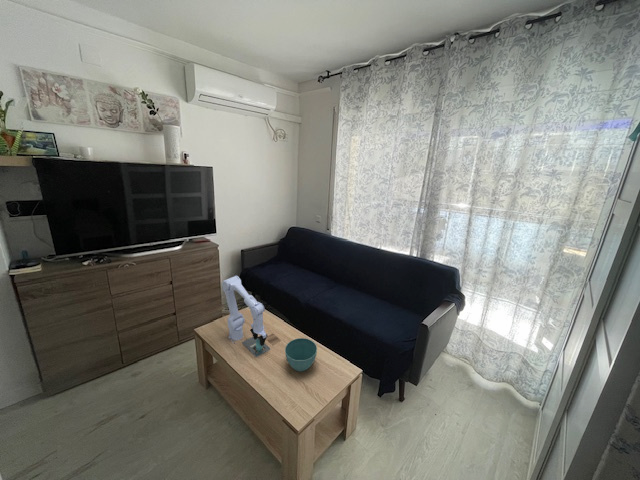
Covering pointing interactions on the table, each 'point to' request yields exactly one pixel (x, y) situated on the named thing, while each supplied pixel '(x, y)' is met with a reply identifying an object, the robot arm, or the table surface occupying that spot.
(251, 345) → the plate
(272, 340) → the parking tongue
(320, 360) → the table surface
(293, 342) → the teal bowl
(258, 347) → the peg
